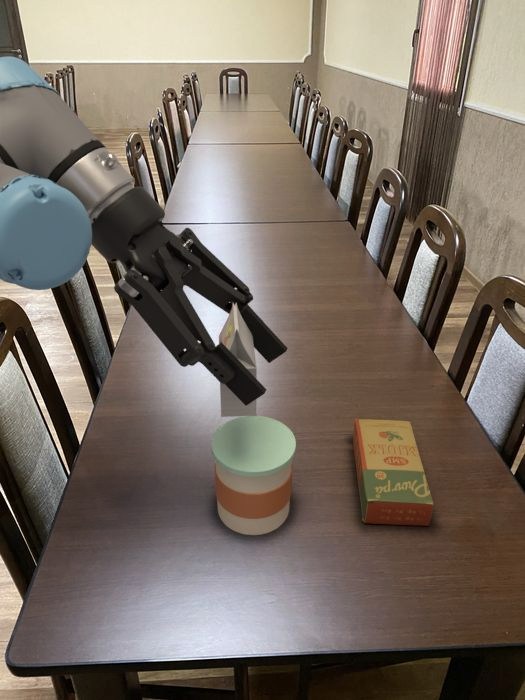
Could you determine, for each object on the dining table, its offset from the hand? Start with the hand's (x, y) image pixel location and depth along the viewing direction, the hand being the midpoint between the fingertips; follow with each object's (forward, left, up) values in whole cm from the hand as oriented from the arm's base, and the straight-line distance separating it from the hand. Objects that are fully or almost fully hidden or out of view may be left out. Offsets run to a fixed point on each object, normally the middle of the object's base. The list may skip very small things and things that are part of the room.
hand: (267, 375), depth 57 cm
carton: (+14, +11, -21) cm, 28 cm away
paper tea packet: (-3, 0, -4) cm, 5 cm away
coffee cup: (-2, +1, -21) cm, 21 cm away
